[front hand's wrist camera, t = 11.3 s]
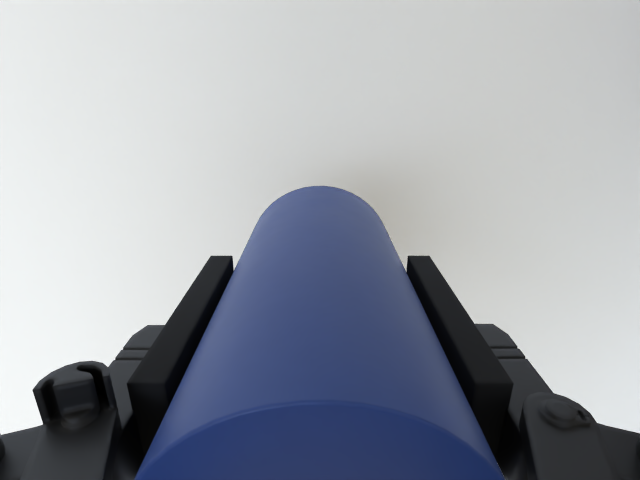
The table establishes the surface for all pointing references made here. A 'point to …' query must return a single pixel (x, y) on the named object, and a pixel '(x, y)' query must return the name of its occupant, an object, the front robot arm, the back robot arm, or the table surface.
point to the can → (319, 364)
